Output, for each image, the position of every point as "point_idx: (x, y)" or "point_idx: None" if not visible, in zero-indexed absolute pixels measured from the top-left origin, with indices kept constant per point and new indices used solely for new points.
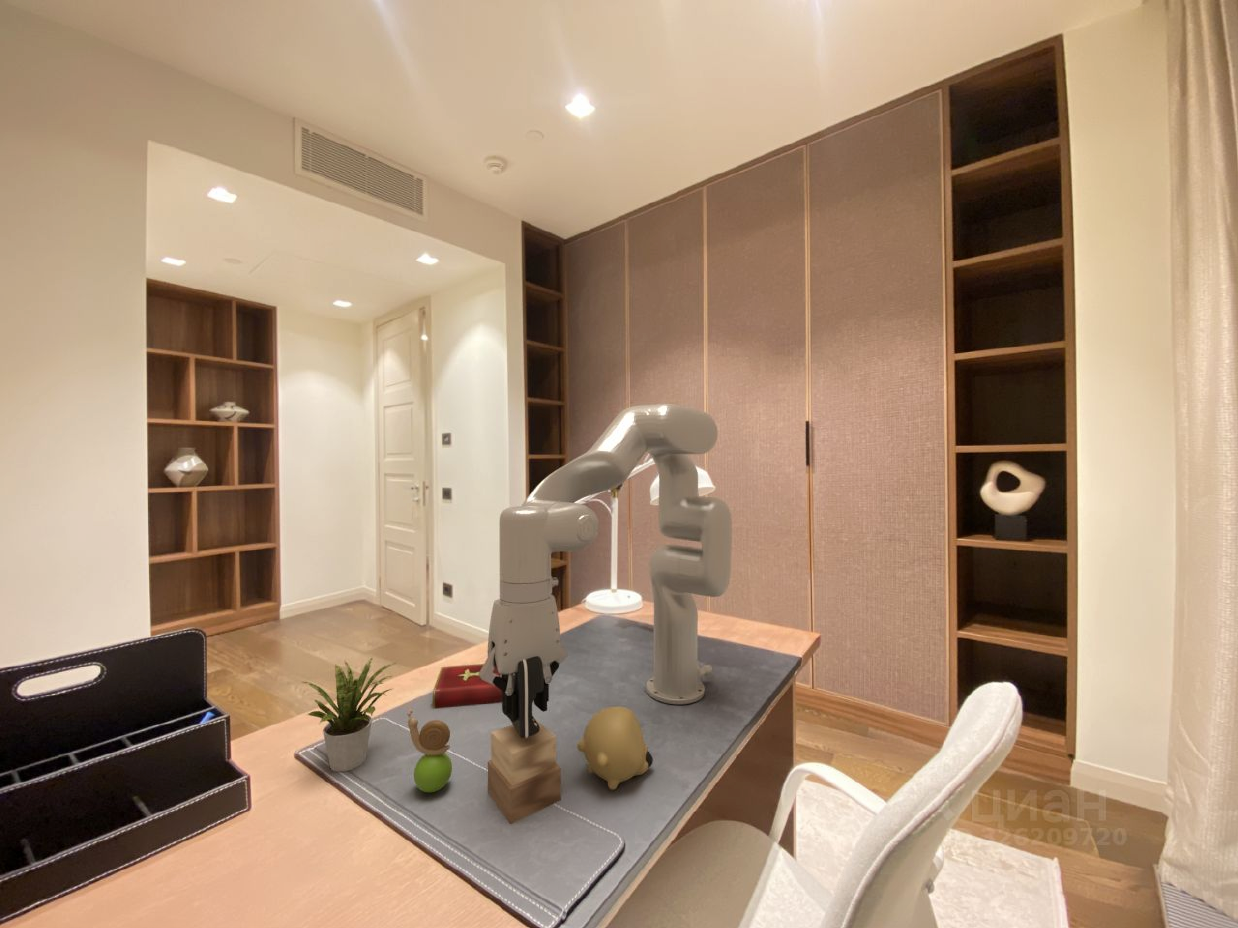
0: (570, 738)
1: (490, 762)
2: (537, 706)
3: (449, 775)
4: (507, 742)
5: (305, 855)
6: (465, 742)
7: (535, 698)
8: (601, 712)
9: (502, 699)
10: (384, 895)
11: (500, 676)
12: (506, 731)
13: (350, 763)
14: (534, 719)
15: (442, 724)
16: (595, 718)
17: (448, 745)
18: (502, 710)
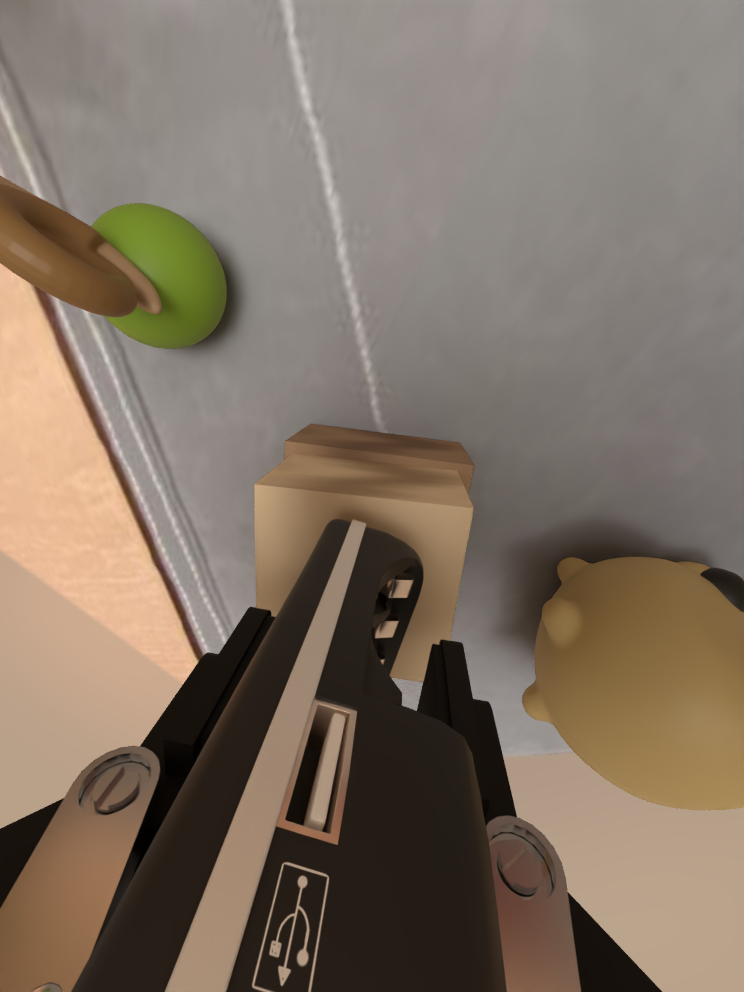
0: (678, 366)
1: (289, 454)
2: (425, 678)
3: (206, 336)
4: (276, 592)
5: None
6: (379, 67)
7: (431, 688)
8: (700, 723)
9: (170, 710)
10: (49, 544)
11: (19, 885)
12: (310, 526)
13: None
14: (396, 648)
15: (42, 280)
16: (655, 704)
17: (151, 307)
18: (207, 655)
